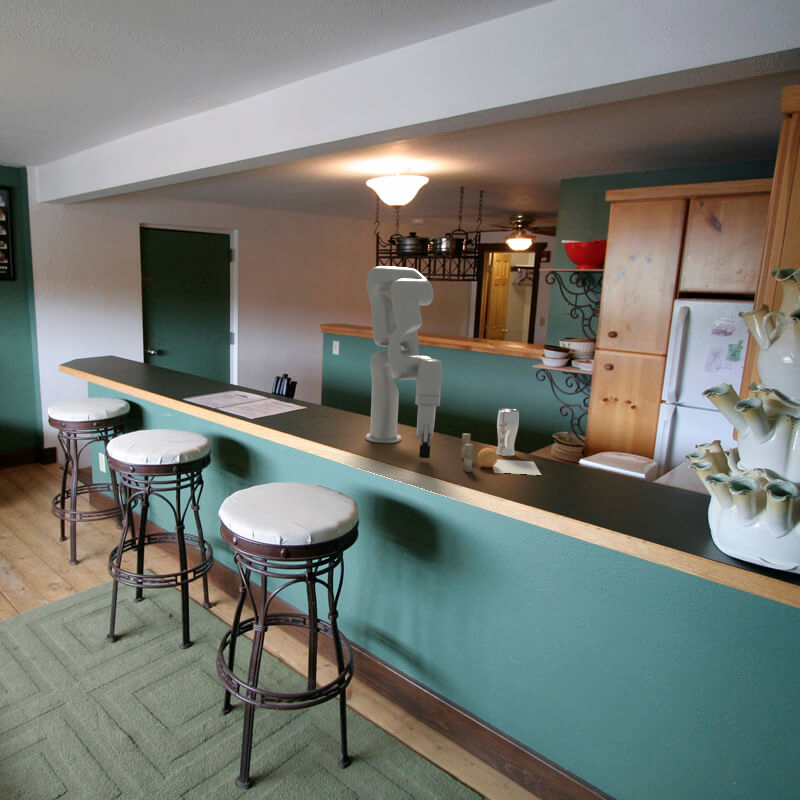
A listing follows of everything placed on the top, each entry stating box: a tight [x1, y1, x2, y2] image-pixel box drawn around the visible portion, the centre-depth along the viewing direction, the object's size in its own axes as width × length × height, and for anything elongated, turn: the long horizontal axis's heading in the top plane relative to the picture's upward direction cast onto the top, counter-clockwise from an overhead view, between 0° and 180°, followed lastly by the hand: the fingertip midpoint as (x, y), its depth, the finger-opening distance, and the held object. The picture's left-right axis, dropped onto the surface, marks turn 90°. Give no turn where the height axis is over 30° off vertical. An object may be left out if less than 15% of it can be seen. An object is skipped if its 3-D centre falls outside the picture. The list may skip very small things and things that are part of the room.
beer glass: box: [495, 407, 520, 457], centre depth 189 cm, size 7×7×15 cm
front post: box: [462, 443, 474, 473], centre depth 169 cm, size 3×3×8 cm
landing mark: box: [491, 458, 542, 477], centre depth 176 cm, size 14×14×1 cm
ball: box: [477, 447, 498, 468], centre depth 174 cm, size 6×6×6 cm
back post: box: [460, 433, 472, 460], centre depth 182 cm, size 3×3×8 cm
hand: (424, 457), depth 177 cm, fingers closed
